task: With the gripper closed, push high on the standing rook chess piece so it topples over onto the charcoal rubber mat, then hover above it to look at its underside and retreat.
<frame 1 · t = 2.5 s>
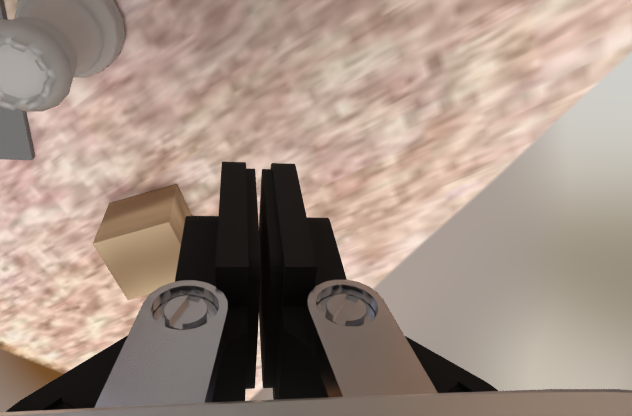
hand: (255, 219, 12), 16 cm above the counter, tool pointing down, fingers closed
oak block: (157, 220, 30), on the counter
rook chess piece: (77, 22, 24), on the counter
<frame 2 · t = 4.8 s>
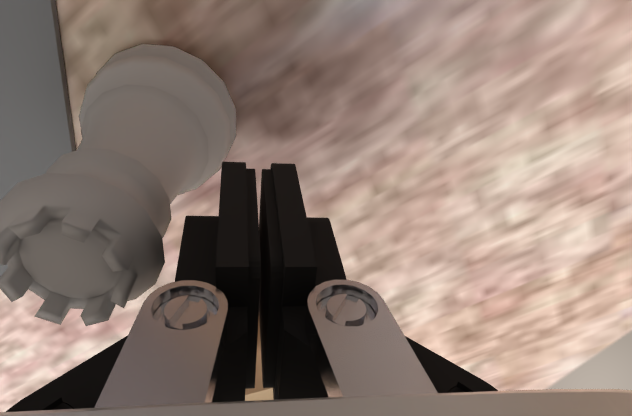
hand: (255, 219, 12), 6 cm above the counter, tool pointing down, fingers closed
oak block: (248, 350, 23), on the counter
rook chess piece: (169, 109, 16), on the counter
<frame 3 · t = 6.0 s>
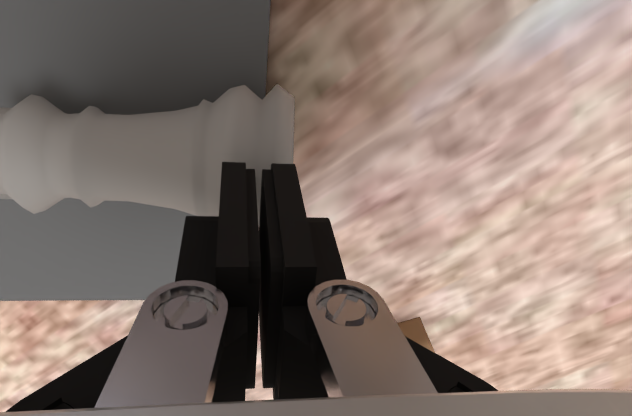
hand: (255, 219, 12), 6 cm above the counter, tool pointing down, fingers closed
mat: (33, 115, 16), on the counter
oak block: (382, 358, 23), on the counter
rook chess piece: (298, 164, 15), point 3 cm above the counter, touching mat
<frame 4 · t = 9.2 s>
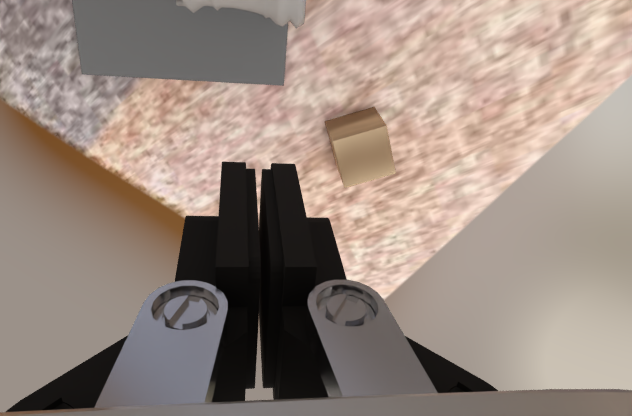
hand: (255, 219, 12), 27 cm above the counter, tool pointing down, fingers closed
oak block: (354, 136, 41), on the counter
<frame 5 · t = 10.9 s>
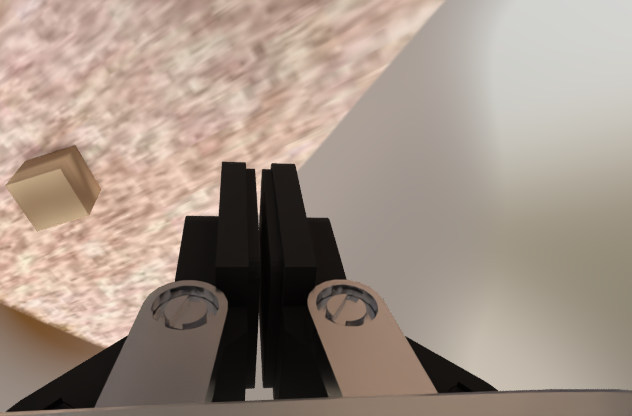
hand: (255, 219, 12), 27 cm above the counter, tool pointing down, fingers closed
oak block: (64, 175, 40), on the counter
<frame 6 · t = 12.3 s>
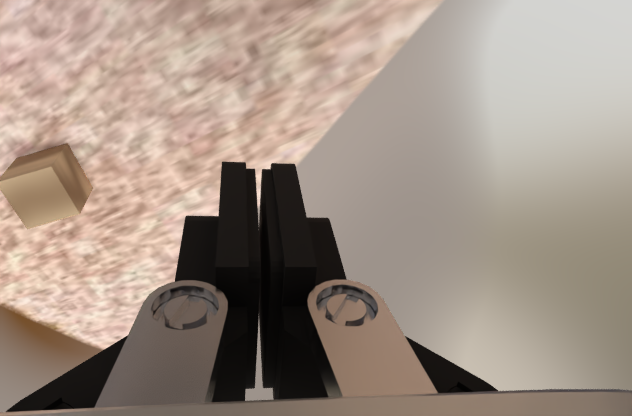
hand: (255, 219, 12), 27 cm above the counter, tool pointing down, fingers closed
oak block: (56, 173, 40), on the counter
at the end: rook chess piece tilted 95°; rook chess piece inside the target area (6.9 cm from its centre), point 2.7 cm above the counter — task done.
